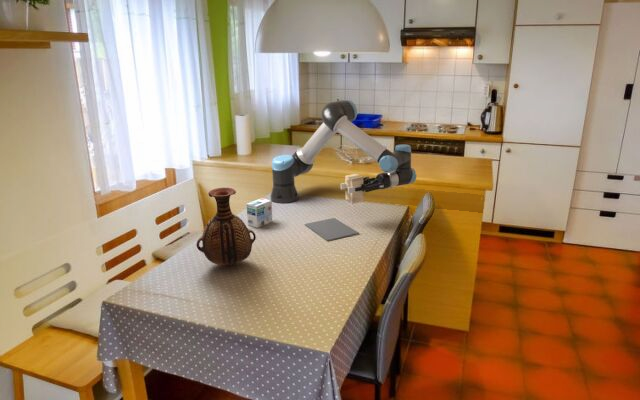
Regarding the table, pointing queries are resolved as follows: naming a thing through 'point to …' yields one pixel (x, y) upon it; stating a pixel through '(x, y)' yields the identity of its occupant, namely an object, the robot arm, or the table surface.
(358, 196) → the beech block
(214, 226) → the vase
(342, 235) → the mat
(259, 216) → the light bulb box
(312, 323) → the table surface
